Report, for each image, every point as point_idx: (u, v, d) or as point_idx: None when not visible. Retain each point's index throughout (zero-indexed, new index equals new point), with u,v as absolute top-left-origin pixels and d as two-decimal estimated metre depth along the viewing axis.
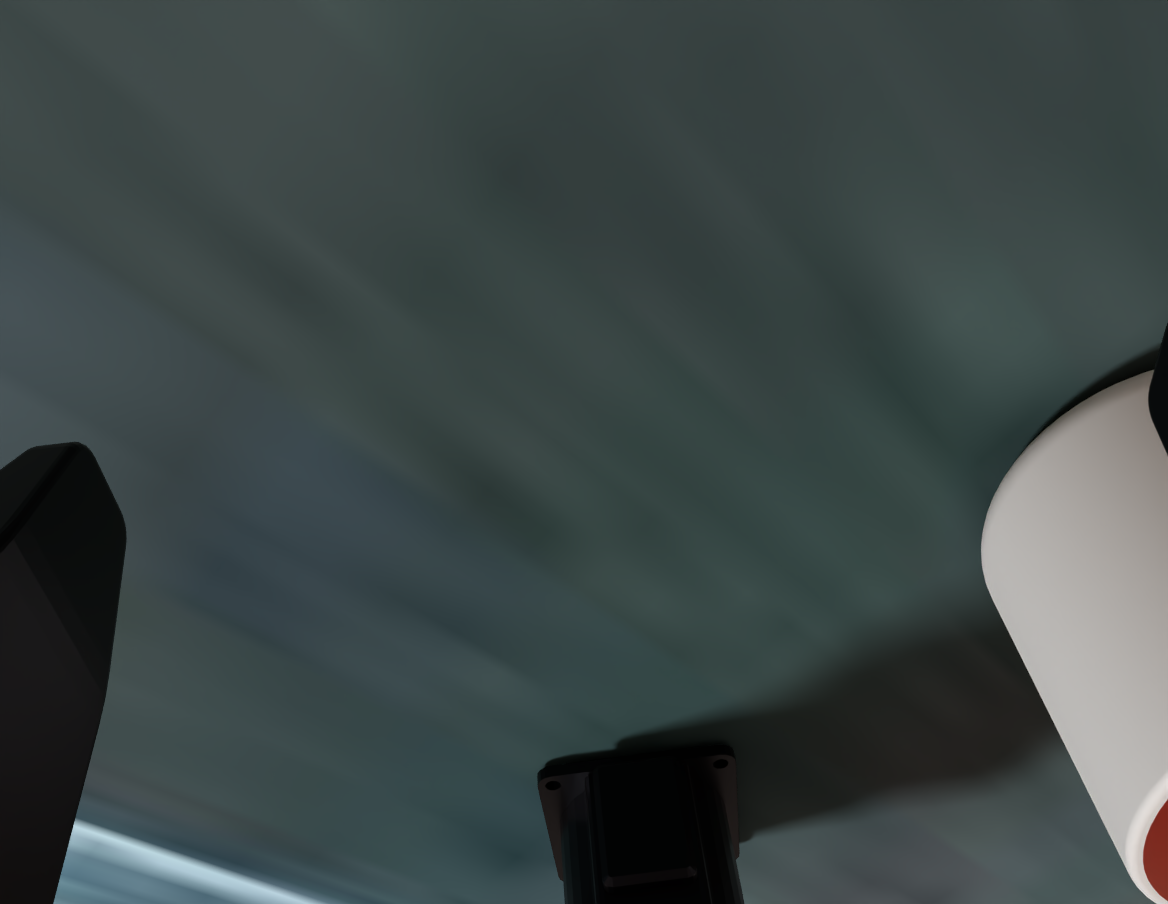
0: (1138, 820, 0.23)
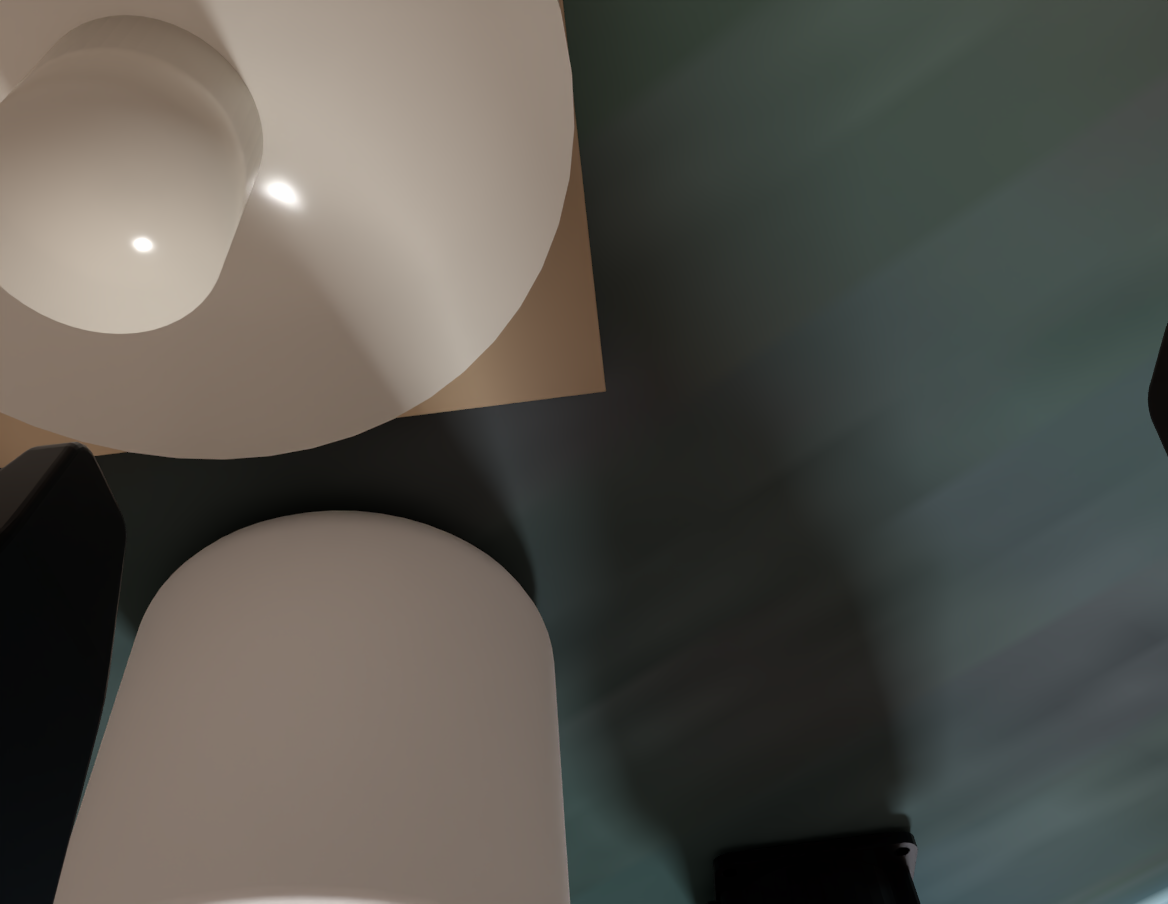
0: None
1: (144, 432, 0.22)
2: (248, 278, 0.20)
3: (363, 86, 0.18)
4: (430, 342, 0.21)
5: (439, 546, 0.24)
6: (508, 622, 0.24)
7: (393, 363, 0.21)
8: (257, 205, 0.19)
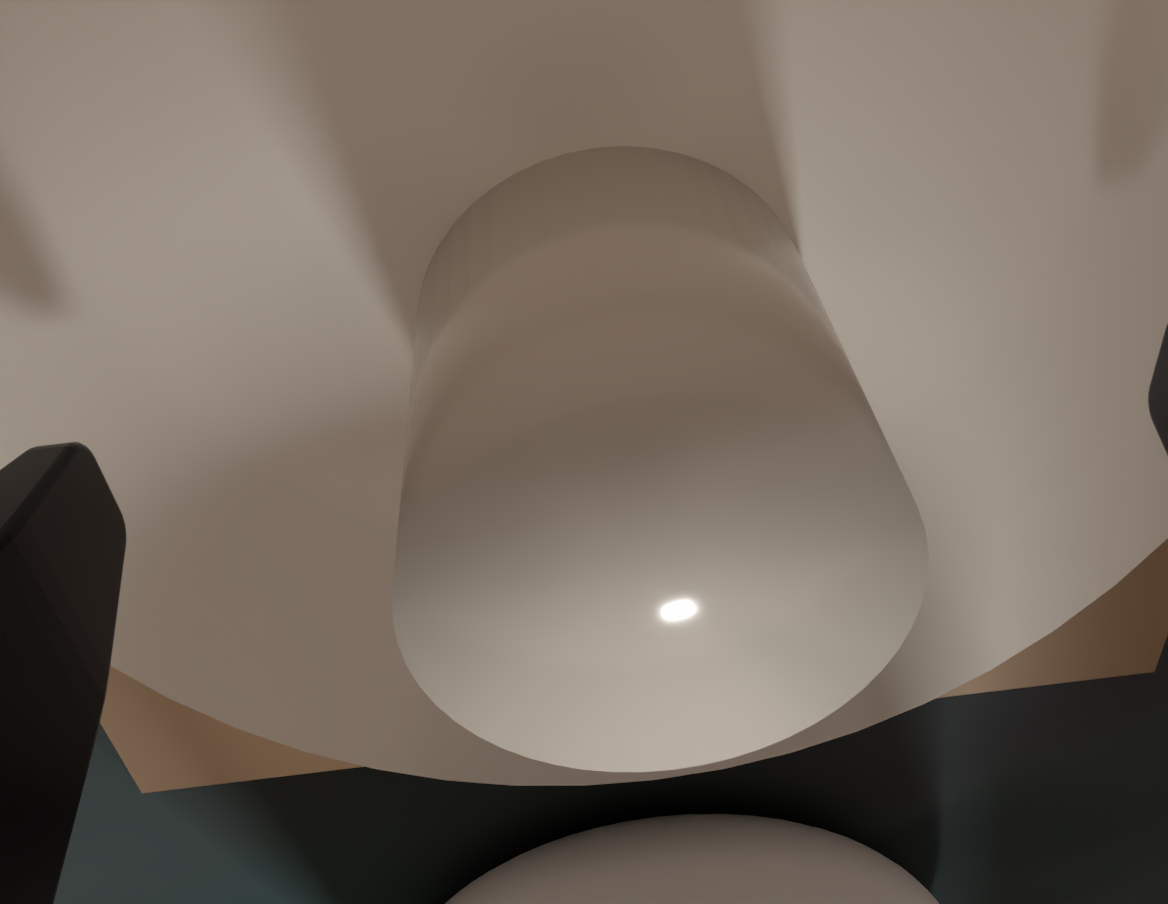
0: None
1: (474, 755, 0.14)
2: None
3: (1003, 266, 0.10)
4: (956, 634, 0.13)
5: (864, 880, 0.16)
6: None
7: (887, 662, 0.13)
8: None
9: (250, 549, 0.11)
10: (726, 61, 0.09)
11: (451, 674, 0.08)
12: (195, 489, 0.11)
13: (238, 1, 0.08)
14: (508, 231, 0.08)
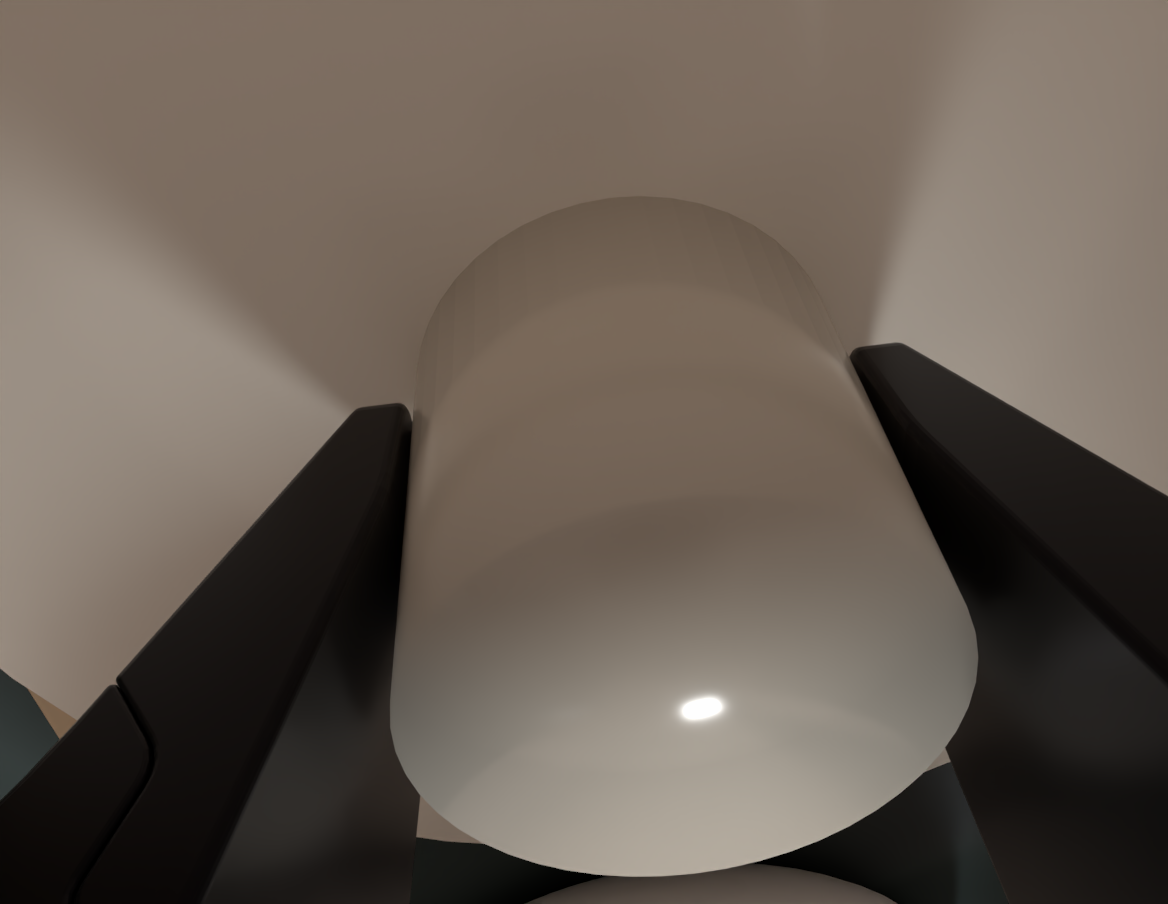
0: None
1: None
2: None
3: (1042, 318, 0.09)
4: None
5: None
6: None
7: None
8: None
9: None
10: (751, 107, 0.08)
11: (455, 784, 0.07)
12: (180, 550, 0.10)
13: (223, 45, 0.07)
14: (515, 292, 0.08)
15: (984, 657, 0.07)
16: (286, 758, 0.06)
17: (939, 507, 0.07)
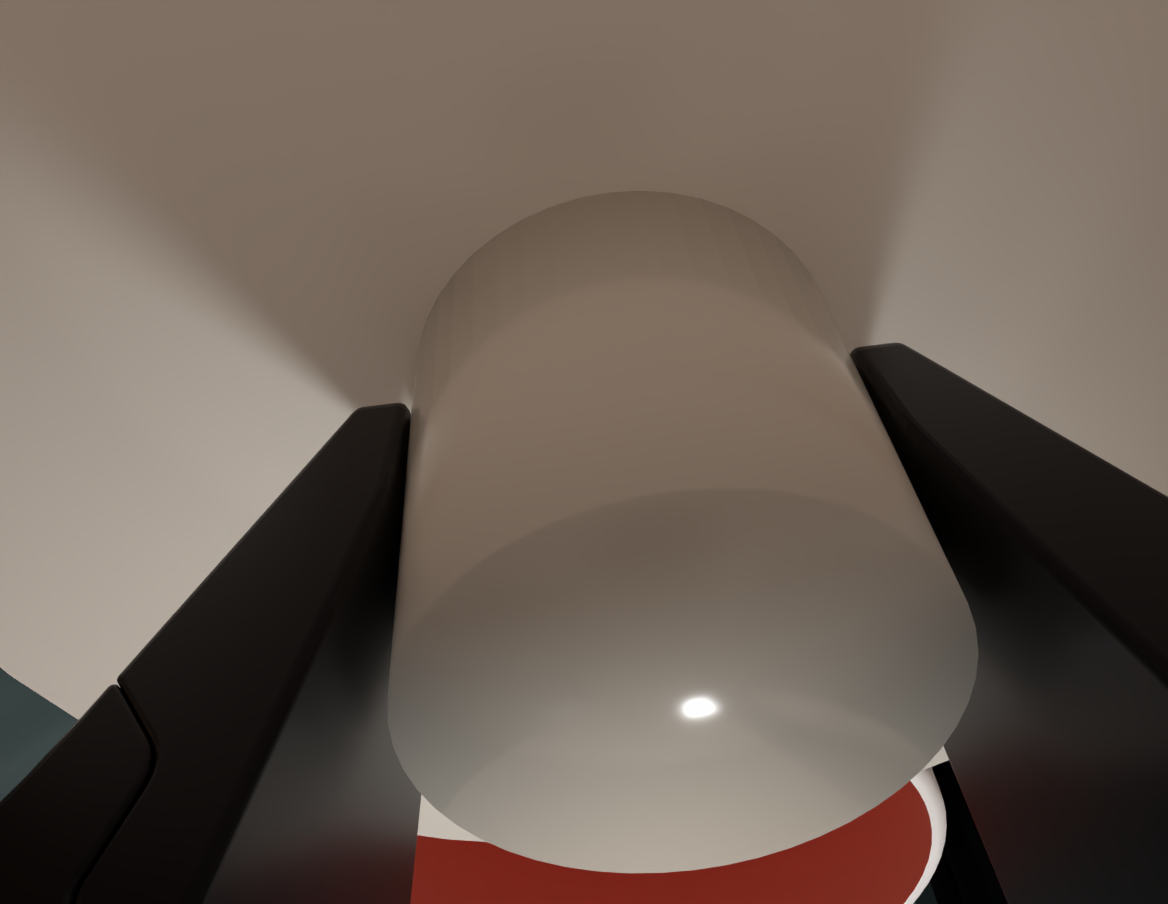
0: None
1: None
2: None
3: (1042, 314, 0.09)
4: None
5: None
6: None
7: None
8: None
9: None
10: (750, 101, 0.08)
11: (453, 779, 0.07)
12: (178, 547, 0.10)
13: (222, 40, 0.07)
14: (514, 287, 0.08)
15: (983, 657, 0.07)
16: (287, 758, 0.06)
17: (938, 507, 0.07)
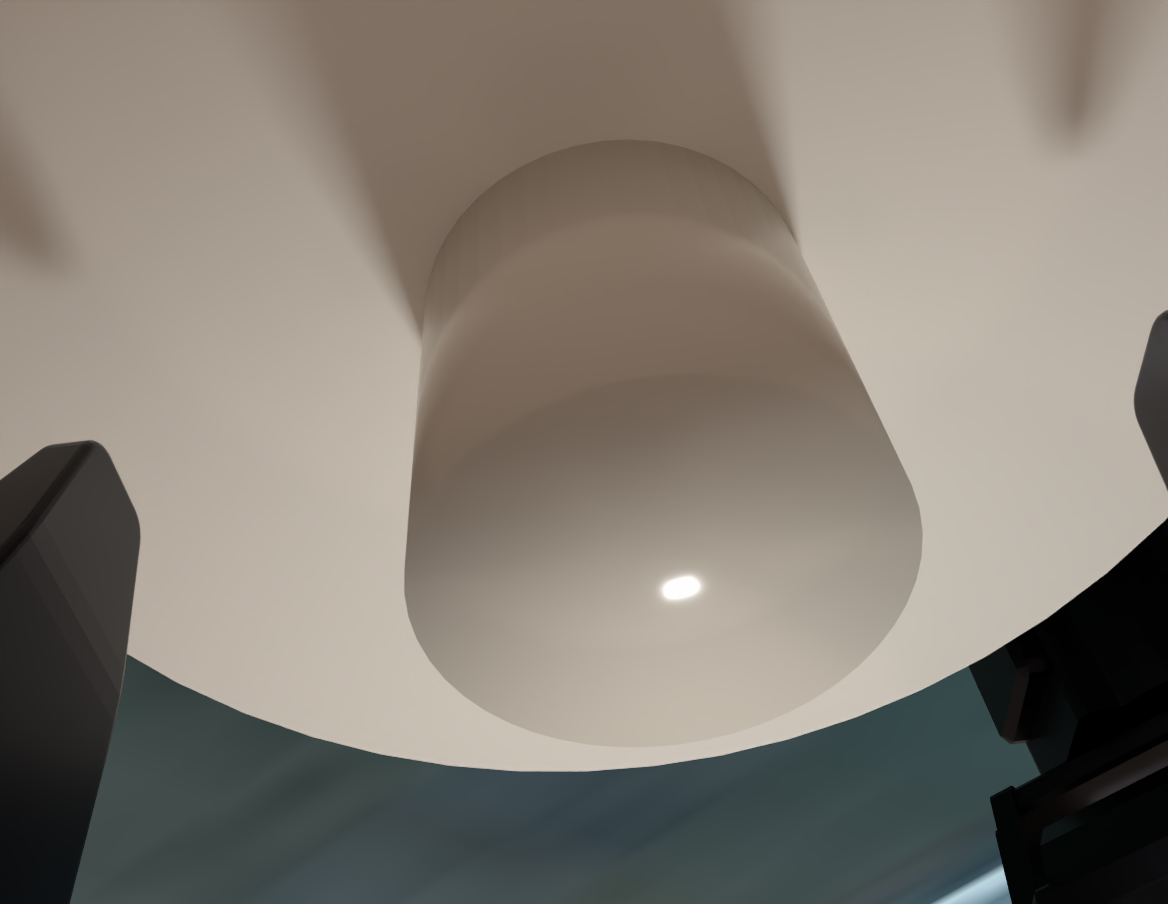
0: None
1: (477, 741, 0.14)
2: None
3: (996, 256, 0.10)
4: (950, 621, 0.13)
5: None
6: None
7: (882, 649, 0.14)
8: None
9: (259, 535, 0.12)
10: (727, 57, 0.09)
11: (461, 650, 0.08)
12: (206, 474, 0.11)
13: None
14: (515, 221, 0.09)
15: None
16: None
17: None
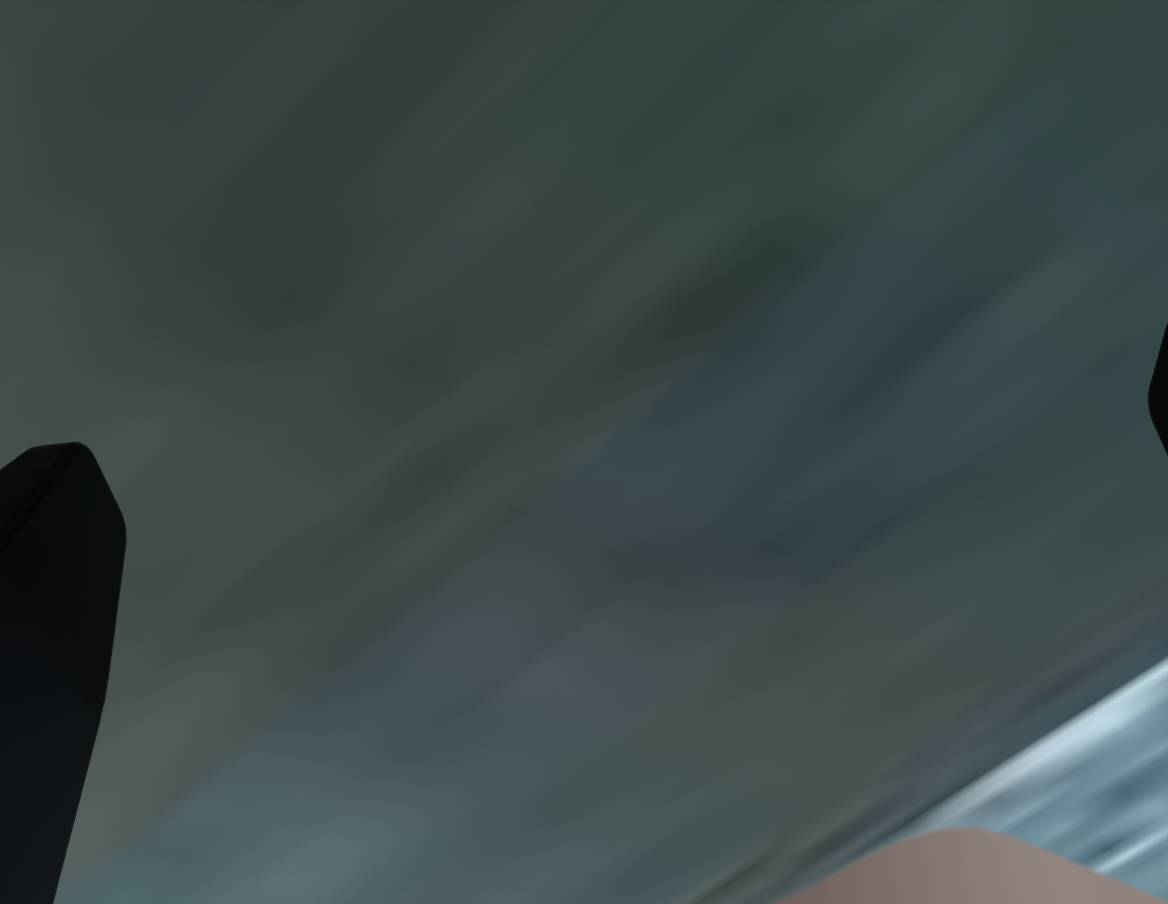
0: None
1: None
2: None
3: None
4: None
5: None
6: None
7: None
8: None
9: None
10: None
11: None
12: None
13: None
14: None
15: None
16: None
17: None
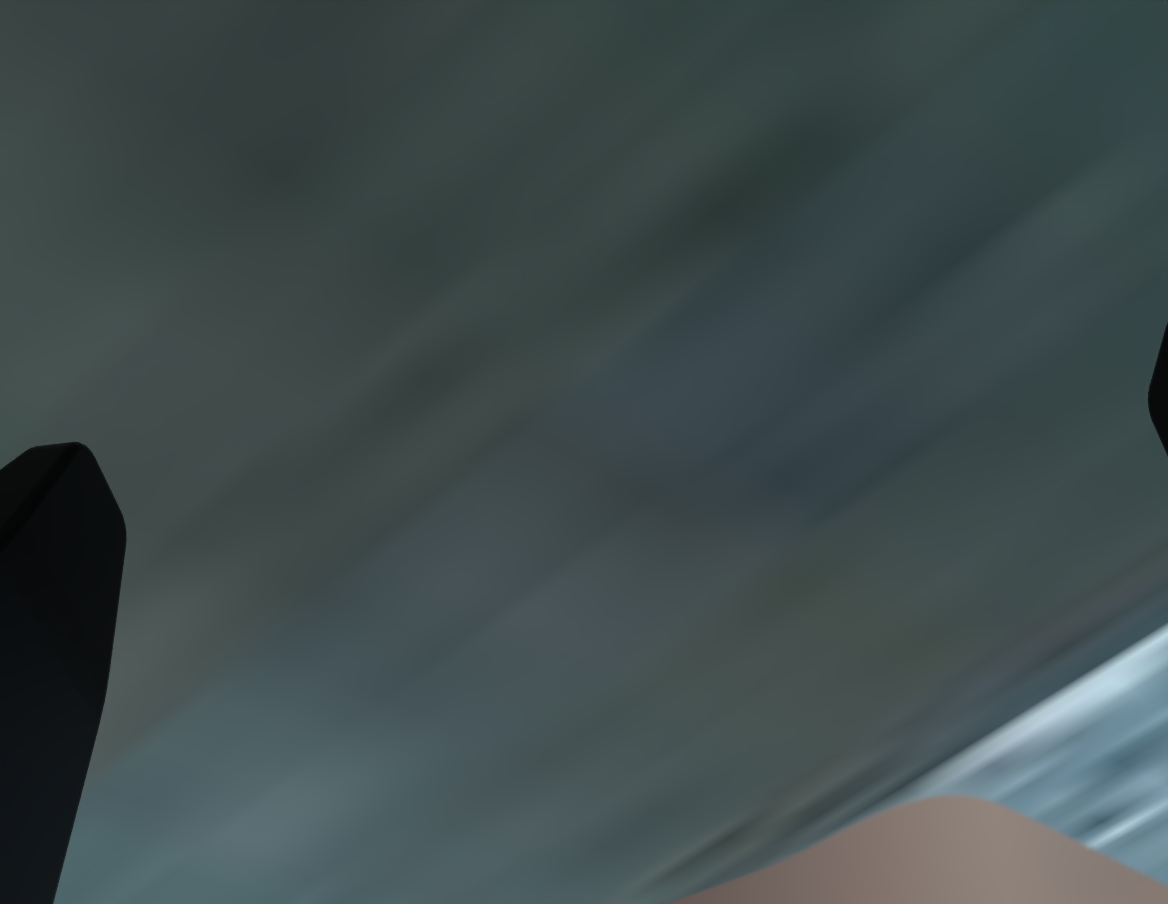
0: None
1: None
2: None
3: None
4: None
5: None
6: None
7: None
8: None
9: None
10: None
11: None
12: None
13: None
14: None
15: None
16: None
17: None
